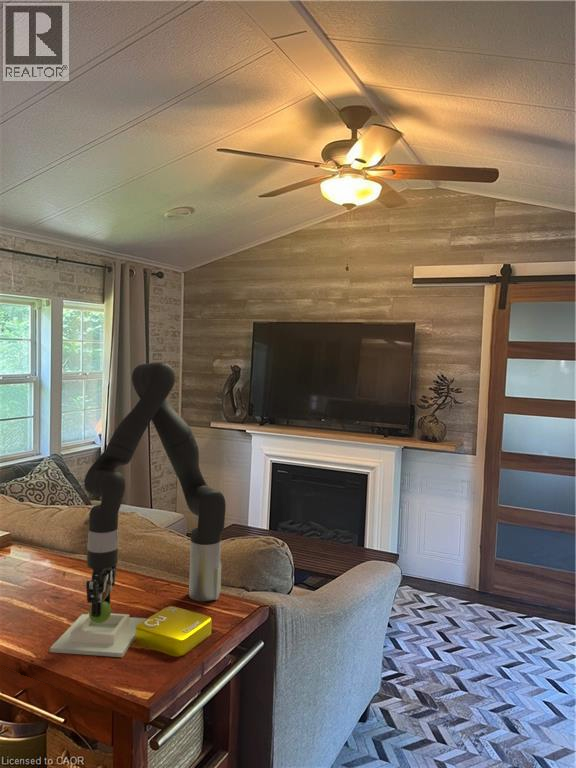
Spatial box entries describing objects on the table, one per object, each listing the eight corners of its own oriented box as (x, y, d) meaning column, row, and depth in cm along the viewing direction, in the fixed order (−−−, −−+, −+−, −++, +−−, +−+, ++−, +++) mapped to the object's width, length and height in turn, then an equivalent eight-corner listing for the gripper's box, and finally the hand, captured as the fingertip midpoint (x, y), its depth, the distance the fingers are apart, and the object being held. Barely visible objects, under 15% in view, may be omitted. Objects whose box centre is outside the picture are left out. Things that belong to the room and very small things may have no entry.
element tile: (179, 659, 132) (180, 640, 132) (131, 643, 139) (132, 624, 139) (214, 633, 146) (214, 615, 145) (169, 619, 152) (169, 602, 152)
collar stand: (146, 621, 150) (146, 609, 149) (122, 657, 132) (122, 643, 131) (82, 617, 151) (82, 605, 150) (49, 652, 133) (50, 638, 133)
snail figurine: (118, 618, 143) (119, 573, 143) (99, 629, 137) (100, 582, 137) (102, 613, 146) (103, 569, 145) (84, 623, 140) (85, 577, 139)
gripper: (106, 557, 133) (104, 625, 134) (127, 538, 147) (125, 600, 148) (76, 555, 133) (74, 623, 134) (100, 536, 148) (98, 598, 148)
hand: (100, 610), depth 141 cm, fingers closed on snail figurine, 5 cm apart
